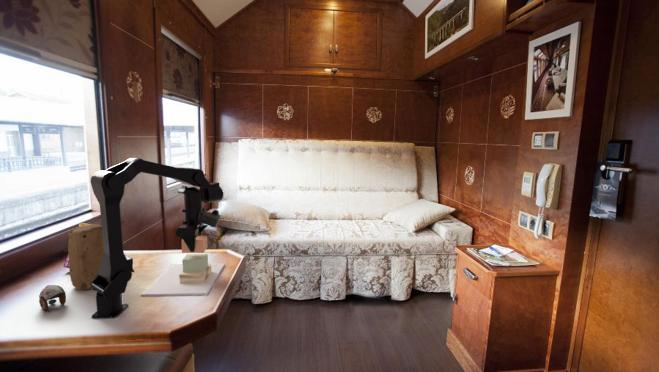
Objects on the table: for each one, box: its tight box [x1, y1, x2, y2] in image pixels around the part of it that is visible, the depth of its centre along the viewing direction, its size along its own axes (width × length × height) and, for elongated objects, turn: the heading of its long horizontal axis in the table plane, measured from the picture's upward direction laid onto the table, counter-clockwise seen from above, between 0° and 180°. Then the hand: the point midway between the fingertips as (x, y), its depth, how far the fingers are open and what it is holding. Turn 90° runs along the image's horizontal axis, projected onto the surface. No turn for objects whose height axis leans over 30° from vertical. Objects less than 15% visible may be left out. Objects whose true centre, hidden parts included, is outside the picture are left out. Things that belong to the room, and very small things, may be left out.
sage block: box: [181, 253, 209, 272], centre depth 112 cm, size 5×7×4 cm
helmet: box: [38, 284, 67, 312], centre depth 91 cm, size 6×8×7 cm
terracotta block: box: [180, 235, 208, 254], centre depth 111 cm, size 5×7×4 cm
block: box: [67, 223, 104, 291], centre depth 105 cm, size 11×8×20 cm
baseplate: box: [140, 263, 225, 297], centre depth 113 cm, size 24×20×1 cm
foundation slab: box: [179, 263, 212, 283], centre depth 113 cm, size 9×8×3 cm
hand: (194, 249), depth 111 cm, fingers closed on terracotta block, 5 cm apart
